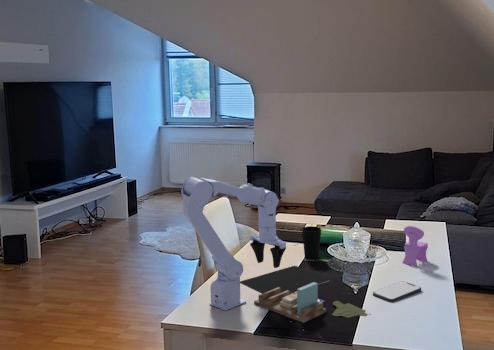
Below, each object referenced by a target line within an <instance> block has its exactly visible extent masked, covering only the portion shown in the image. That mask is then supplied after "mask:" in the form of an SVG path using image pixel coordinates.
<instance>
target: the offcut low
mask: <svg viewBox="0 0 494 350" xmlns="http://www.w3.org/2000/svg"><path fill="white" fill-rule="evenodd" d="M296 304H297V302H295V303H293V304H288V303H285V302H282V301H281V302H280V306H283V307H285V308H288V309H291V307H292V306H294V305H296Z"/></svg>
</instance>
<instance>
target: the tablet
mask: <svg viewBox="0 0 494 350" xmlns="http://www.w3.org/2000/svg"><path fill="white" fill-rule="evenodd" d="M330 281H331V280H330V278H328V277H325V276H322V275H321V274H317V273H315V272H313V271H310V270H309V269H308V270H307V269H305V268H302V267H300V266H298V265H292V266H288V267H284V268H282V269H278V270H275V271H270V272H268V273H265V274H261V275H258V276H254V277H251V278H247V279H244V280H240V285H243V286H245V287H246V288H247V287H248V288H249V289H251V290H253V291H256V292H258V293H260V294H263V293H265V292H268V291H270V290H273V289H275V288H278V287H279V288H281V293H282V292H284V291H287V290H288V291H290V294H292V293H293V294H295V293H297V289H299V288H301V287H303V286H306V285H308V284H311V283H313V282H315V283H318V286H319V285H321V284H325V283H329V282H330Z"/></svg>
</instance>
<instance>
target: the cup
mask: <svg viewBox="0 0 494 350" xmlns="http://www.w3.org/2000/svg"><path fill="white" fill-rule="evenodd" d="M301 234H302V242H303V252H304V259H306V260H309V261H310V260H311V261H315V260H318V259H319V257H320V247H321V246H320V245H321V236H322V228H321V227H319V226H304V227H302V228H301Z"/></svg>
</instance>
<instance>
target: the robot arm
mask: <svg viewBox="0 0 494 350" xmlns="http://www.w3.org/2000/svg"><path fill="white" fill-rule="evenodd" d="M253 185H254V184H252V183H249V182H248V183H247V184H245V183H244V184H241V185H240V186H237V185H234V184H233V185H232V184H230V183H226V182H222V181H219V180H215V179H211V178H205V177H199V178H198V177H196V176H190V177H188V178H186V179H185V180H184V182H183V184H182V187H181V191H180V193H181V196H182V203H183V204H182V205H183V214H184V216H185V218H186V219H187V220H188V221H189V223H190V225H191V226H192V228H193V229H194V231H195V232H196V234H197V235H198V237H199V239H200V240H201V241H202V243H203V244H204V245H205V247H206V248H207V250H208V252H209V253H210V254H211V259H212V261H213V265H214V269H215V270H216V272H217V277H216V279H215V280H214V281H212V283H211V284H210V302H209V303H208V304H209V305H211V306H212V307H215V308H218V309H221V310H223V311H228V310H230V309H233V308H235V307H237V306H238V307H239V306H240V305H243V304H246V303H247V300H245V299H242V298H241V283H240V281H241V276H242V274H243V273H244V265H243V263H242V262H241V261H239V260H238V259H237V258H235V257H234V255H233V254H232V253H231V252H230V251H229V249H227V248H226V246H225V244H224V243H223V241H222V240H221V238H220V237H219V235H218V234H217V232H216V231H215V229H214V227H213V226H212V225H211V223H210V222H209V220H208V218H207V217H206V215H205V214H204V208H205V207H206V205H207V204H208V202H209V201H210V199H211V197H215V196H217V194H224V195H227V196H232V197H237V200H238V201H239V202H241V203H246V204H250V205H254V206H257V208H258V209H257V210H258V211H257V213H258V215H257V216H258V234H257V233H256V234H255V233H253V234H250V235H249V236H250V241H251V242H250V243H249V244H250V247H251V248H252V250H253V253H254V255H255V259H256V262H257V263H258V264H261V263H263V262H264V255H265V254H264V251H265V245H270V246H272V247H271V248H269V251H270V253H271V256H272V264H273V265H272V266H273V268H274V269H277V268H279V267H280V265H281V261H282V258H283V255H284V253H285V251H286V249H287V245H286V244H287V242H286V241H283V240H282V239H281V238H279V236H277V219H276V217H277V213H276V212H277V207H278V205H279V203H280V202H279V201H280V199H279V198H278V195H277V194H276V193H275V192H274V191H271V190H269V189H265V187H263V186H262V187H258V186H257V187H256V186H253Z"/></svg>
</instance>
